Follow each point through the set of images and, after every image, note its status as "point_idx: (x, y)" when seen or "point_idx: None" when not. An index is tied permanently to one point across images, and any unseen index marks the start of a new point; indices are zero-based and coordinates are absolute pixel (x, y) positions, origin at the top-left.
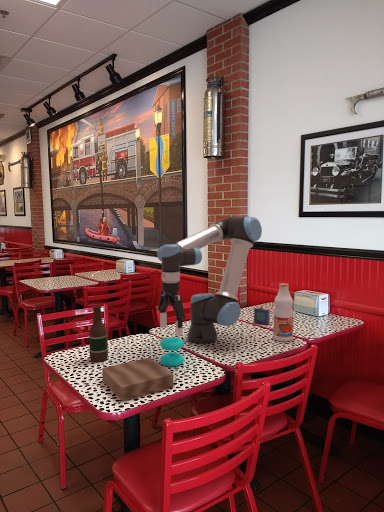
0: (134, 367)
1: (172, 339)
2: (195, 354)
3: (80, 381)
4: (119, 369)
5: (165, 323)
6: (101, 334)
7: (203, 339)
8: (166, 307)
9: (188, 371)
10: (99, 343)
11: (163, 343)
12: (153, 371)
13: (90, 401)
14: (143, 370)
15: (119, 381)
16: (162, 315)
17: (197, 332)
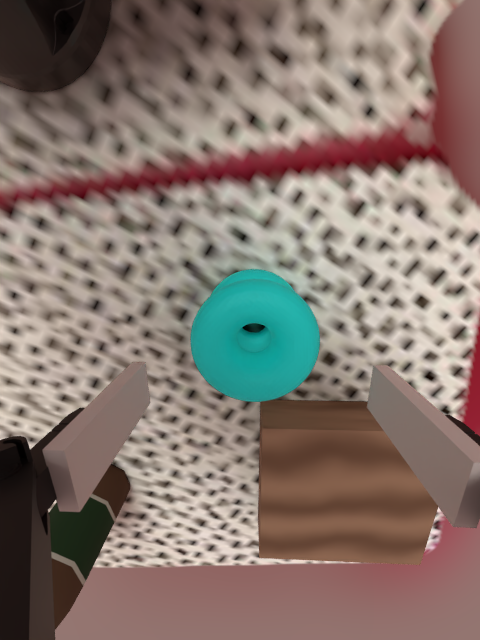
0: (316, 497)
1: (229, 331)
2: (224, 175)
3: (232, 549)
4: (301, 531)
5: (132, 386)
6: (70, 593)
7: (89, 9)
8: (35, 557)
9: (361, 304)
10: (97, 555)
11: (264, 400)
12: (389, 470)
13: (347, 562)
14: (359, 488)
15: (380, 556)
16: (94, 472)
17: (25, 3)
